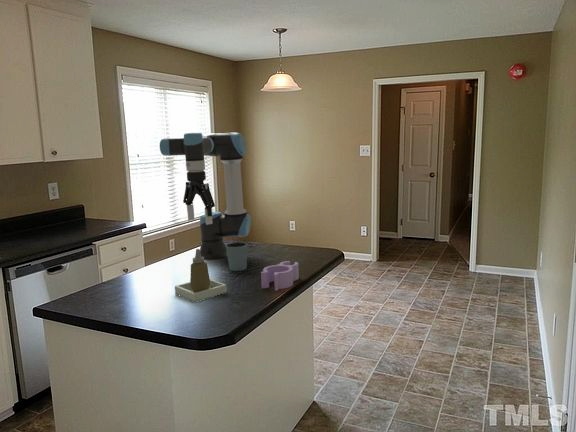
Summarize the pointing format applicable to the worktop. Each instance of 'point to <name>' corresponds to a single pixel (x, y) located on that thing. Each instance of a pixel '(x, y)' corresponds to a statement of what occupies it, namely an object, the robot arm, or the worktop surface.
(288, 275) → the clip
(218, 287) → the tray
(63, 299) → the worktop surface
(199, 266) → the squeeze bottle
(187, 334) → the worktop surface
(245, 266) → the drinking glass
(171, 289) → the worktop surface
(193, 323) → the worktop surface
